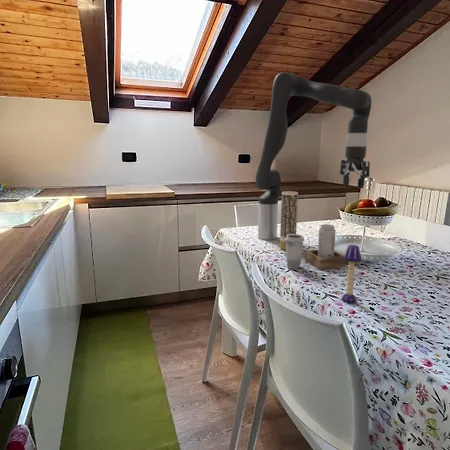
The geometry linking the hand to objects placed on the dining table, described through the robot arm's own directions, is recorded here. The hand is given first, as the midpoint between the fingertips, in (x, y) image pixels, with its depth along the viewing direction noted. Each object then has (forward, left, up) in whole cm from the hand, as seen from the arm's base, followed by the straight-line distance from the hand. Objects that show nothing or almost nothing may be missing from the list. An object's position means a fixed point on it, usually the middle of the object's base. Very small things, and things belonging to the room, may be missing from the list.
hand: (352, 186), depth 137 cm
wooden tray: (+7, -16, -28) cm, 33 cm away
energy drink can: (+7, -16, -28) cm, 33 cm away
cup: (+6, -29, -28) cm, 41 cm away
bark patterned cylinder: (-15, -20, -28) cm, 38 cm away
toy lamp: (+36, -28, -28) cm, 54 cm away
